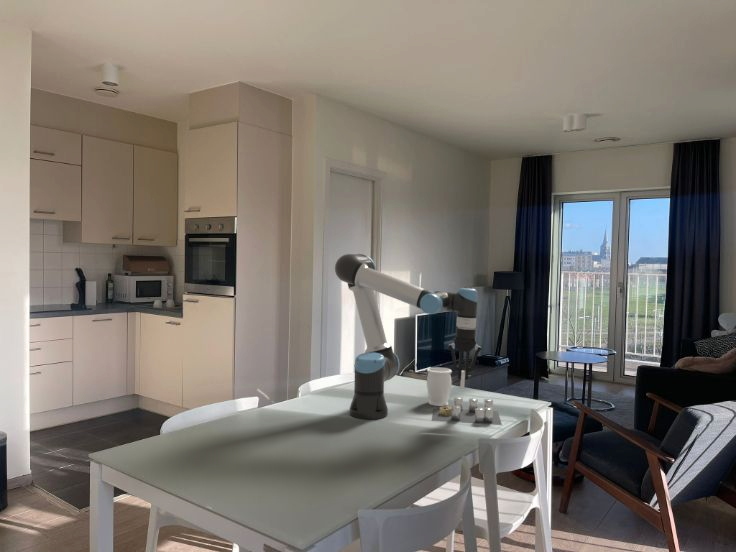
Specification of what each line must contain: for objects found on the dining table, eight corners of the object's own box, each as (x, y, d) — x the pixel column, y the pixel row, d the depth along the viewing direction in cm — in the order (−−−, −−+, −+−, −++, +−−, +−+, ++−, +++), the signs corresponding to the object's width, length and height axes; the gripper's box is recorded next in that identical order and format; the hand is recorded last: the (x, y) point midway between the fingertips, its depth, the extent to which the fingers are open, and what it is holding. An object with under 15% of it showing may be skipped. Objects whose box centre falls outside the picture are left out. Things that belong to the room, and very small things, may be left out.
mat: (431, 422, 216) (431, 420, 216) (433, 408, 235) (433, 407, 235) (501, 426, 212) (501, 424, 212) (497, 412, 231) (497, 411, 231)
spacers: (450, 421, 215) (451, 408, 215) (450, 408, 234) (451, 396, 234) (495, 424, 213) (496, 411, 213) (492, 411, 231) (492, 398, 231)
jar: (452, 408, 237) (453, 372, 236) (427, 407, 237) (428, 371, 236) (449, 401, 247) (450, 367, 247) (425, 401, 247) (426, 366, 247)
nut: (439, 415, 223) (439, 409, 223) (440, 412, 228) (440, 405, 228) (451, 416, 222) (451, 410, 222) (451, 412, 227) (451, 406, 227)
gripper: (449, 328, 220) (445, 388, 221) (483, 330, 218) (479, 391, 219) (449, 325, 227) (445, 384, 228) (482, 327, 225) (478, 386, 226)
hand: (462, 387), depth 224 cm, fingers closed
